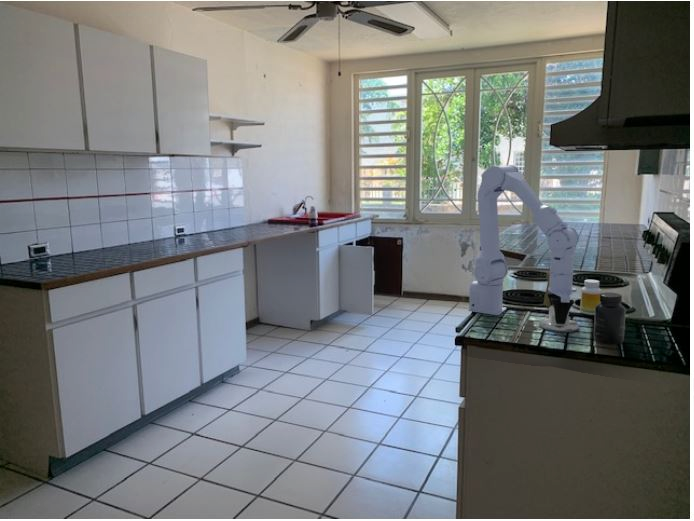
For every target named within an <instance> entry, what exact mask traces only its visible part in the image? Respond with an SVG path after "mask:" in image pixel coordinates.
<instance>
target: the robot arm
mask: <svg viewBox="0 0 694 521" xmlns="http://www.w3.org/2000/svg"><path fill="white" fill-rule="evenodd" d="M505 191H506V192H511V193H513V194H515V195H516V196H517V197H518V198H519V199H520V200H521V201H522V203H523V204H525V206H526V207H527V208H528V210H530V211H531V213H532V219H531V220H532V221H533V222H534V223H535V225H536V226H537V227H538V228H539V229H540V231H541V232H542V233H543V234H544V236H546V238H547V240H546V243H547V245H548V247H549V248H550V263H549V271H550V280H549V287H548V291H549V292H547V296H548V298H549V301H550V305H551V306H552V305H553V307H554V312H555V320H556V324H565V322H566V319H567V315H568V312H569V313H570V311H571V308H572V307H573V305H574V304H575V300H574V299H571V295H572V294H573V293H577V290H578V289H577V288H575V287H573V276H574V262H575V260H574V258H575V246H577V245H578V243H579V240H580V239H579V238H580V237H579V233H578V232H577V229H576V228H573V227H572V226H569V225H568V223H567V222H564V221H563V220H562V218H561V217H560V216H559V215H558V214H557V212H558V210H557V209H556V208H555V207H552V206H550V205H545V204H543V203H542V201H541V199H540V198H539V197H538V195H537V194H536V192H534V190H533V189H532V188H531V185H529V183H528V182H527V180H526V179H525V176H524V174H523V173H522V172H521V171H519V169H518V168H517V167H516V166H515V165H513V164H506V165H490V166H489V167H487V169H485V170H484V171H483V172H482V174H481V182H480V185H479V188H478V192H477V203H478V204H477V206H478V222H479V224H478V225H479V239H480V242H479V244H480V253H479V254H478V255H477V257H476V259H475V267H474V269H473V276H474V278H475V280H473V281H471V284H470V286H469V301H468V302H469V304H468V305H469V306H468V309H467V311H468V312H472V313H473V312H474V313H480V314H487V315H494V316H500V315H501V314H502V313H504V312H505V311H506V310H507V306H506V307H505V306H503V294H504V292H503V290H504V289H503V288H504V287H503V286H504V278H505V277H507V275H508V272H509V269H508V268H509V267H508V265H507V263H506V260H505V255H504V254H503V252H502V251H501V250H500V234H499V233H500V230H499V212H498V210H499V208H498V198H499V197H500V196H501V195H502V194H503V193H504V192H505ZM568 316H569V315H568Z"/></svg>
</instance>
